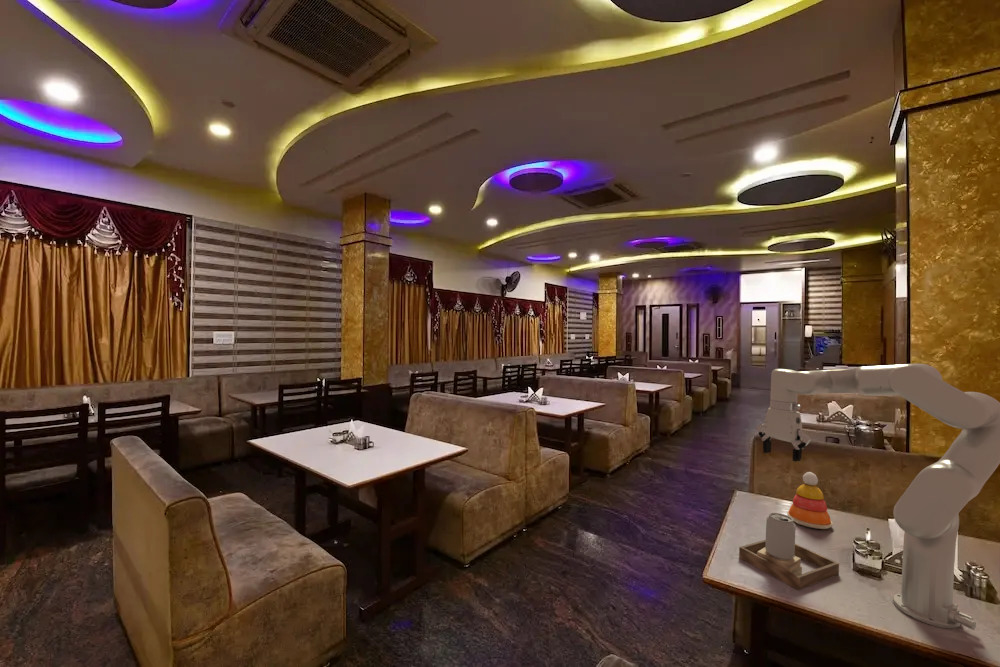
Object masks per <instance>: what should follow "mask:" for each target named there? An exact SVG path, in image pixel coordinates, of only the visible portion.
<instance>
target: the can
mask: <svg viewBox="0 0 1000 667" xmlns="http://www.w3.org/2000/svg"><path fill="white" fill-rule="evenodd" d="M765 522H766V523H765V540H766V544H765V549H766V551H767V552H768V553H769V554H770V555H771V556H773V557H775V558H777V559H781V560H790V559H792V558H794V556H796V555H795V544H796V528H797V525H796V524H795V523H796V522H794V521H793V519H792V518H791V517H789V516H788V515H787V514H784V513H779V512H770V513H769V514H768V517H766V521H765Z"/></svg>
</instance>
